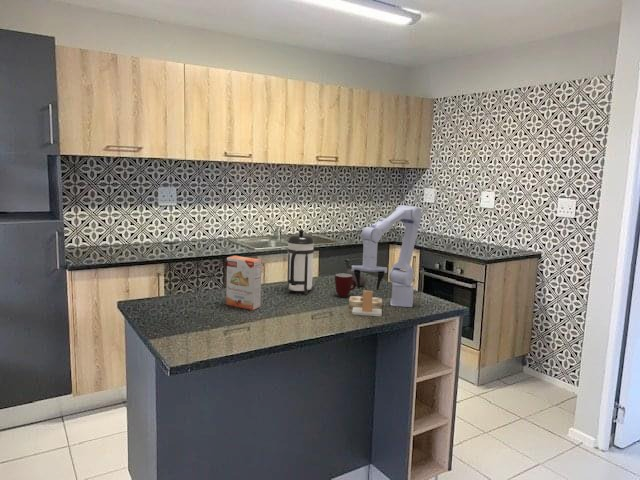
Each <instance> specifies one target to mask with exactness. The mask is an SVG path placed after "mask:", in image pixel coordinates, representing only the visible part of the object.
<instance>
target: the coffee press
mask: <svg viewBox="0 0 640 480" xmlns="http://www.w3.org/2000/svg"><path fill="white" fill-rule="evenodd" d="M314 244H315V240H314V237H312V236H311V235H308V234H304V230H303V229H300V230H299V231H298V234H292V235H291V236H289V237H288V239H287V251H286V252H287V269H286V270H287V272H286V273H287V274H286V276H287V279H286V280H287V281H286V285H287V286H286V289H284V292H285V293H286V294H288V293H287V292H291V291H294V292H303V295H304V296H307V295H309V291H314V289H315V288H314V287H313V271H314V270H313V269H314V267H313V266H314V251H315V248H314Z"/></svg>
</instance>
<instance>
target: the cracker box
mask: <svg viewBox="0 0 640 480" xmlns="http://www.w3.org/2000/svg"><path fill="white" fill-rule="evenodd" d="M261 303H262V259H259V258H253V257H247V256H240V255H231V256H228V257H226V305H227V306H231V307H236V308H239V309H240V308H241V309H245V310H250V311H255V310H257V309H259V308H261V307H262V305H261Z"/></svg>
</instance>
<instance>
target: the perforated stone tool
mask: <svg viewBox="0 0 640 480" xmlns="http://www.w3.org/2000/svg"><path fill="white" fill-rule="evenodd" d="M351 270H352V268H348V269H347V270H346V272H345V274H351V275H352V280H354V281H355V282H356V286H358V283H357V280H356V277H355V275H354V271H351ZM352 285H354V283H353V282H352ZM365 285H366V278H365V276H364V275H363V274H362V273H361V272H360V287H363V286H365Z"/></svg>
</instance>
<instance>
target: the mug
mask: <svg viewBox="0 0 640 480" xmlns="http://www.w3.org/2000/svg"><path fill="white" fill-rule="evenodd" d="M334 277H335V278H334V283H335V290H336V293H337V295H338V297H340V298H347V297H348V296H349V294H350V292H351V291H353V290H354V289H356V288H357V285H356V282H355V281H354V280H352V275H351V274H346V272H345V273H344V272H343V273H342V272H341V273H336V274H335V275H334ZM352 282H353V283H354V284H353V283H352Z"/></svg>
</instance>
